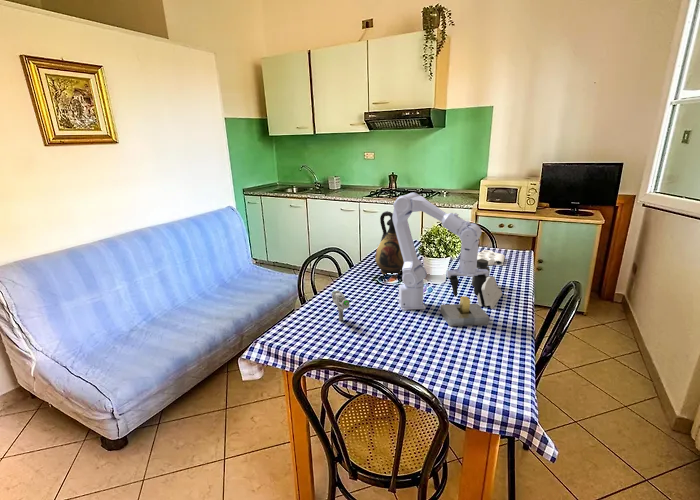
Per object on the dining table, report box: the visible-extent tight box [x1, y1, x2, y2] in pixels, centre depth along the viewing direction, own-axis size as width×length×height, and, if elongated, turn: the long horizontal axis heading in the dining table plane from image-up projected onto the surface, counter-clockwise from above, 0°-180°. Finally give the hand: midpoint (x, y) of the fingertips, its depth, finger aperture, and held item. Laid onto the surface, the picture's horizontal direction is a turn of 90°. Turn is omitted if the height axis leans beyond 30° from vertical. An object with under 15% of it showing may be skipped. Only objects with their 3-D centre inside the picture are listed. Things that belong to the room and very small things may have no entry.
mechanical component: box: [331, 290, 350, 322], centre depth 133 cm, size 3×10×10 cm, turn 27°
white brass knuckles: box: [477, 249, 506, 267], centre depth 193 cm, size 3×18×15 cm
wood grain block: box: [459, 295, 471, 314], centre depth 133 cm, size 2×3×8 cm
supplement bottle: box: [471, 259, 491, 287], centre depth 160 cm, size 7×7×12 cm
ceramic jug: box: [374, 210, 404, 275], centre depth 176 cm, size 17×15×30 cm
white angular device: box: [476, 275, 503, 310], centre depth 148 cm, size 17×5×10 cm, turn 145°
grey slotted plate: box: [440, 302, 490, 327], centre depth 134 cm, size 14×11×3 cm
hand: (465, 294), depth 131 cm, fingers open, 7 cm apart
